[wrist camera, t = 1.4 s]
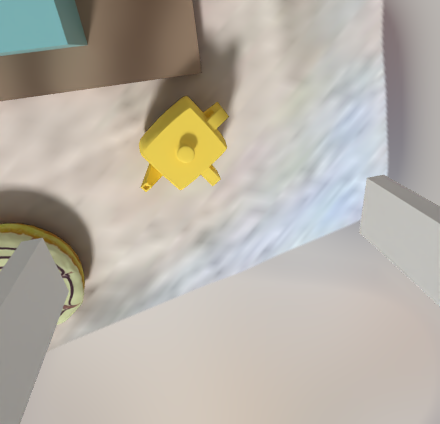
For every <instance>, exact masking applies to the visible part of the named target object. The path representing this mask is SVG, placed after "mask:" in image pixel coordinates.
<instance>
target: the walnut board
mask: <svg viewBox="0 0 440 424" xmlns="http://www.w3.org/2000/svg"><path fill="white" fill-rule="evenodd" d="M75 3H76V6H77V10H78V13H79V17H80V20H81V24H82V27H83V31H84V34H85V37H86V41H87V44H88V45H85V46H77V47H69V48H61V49H53V50H45V51H37V52H29V53H21V54H13V55H5V56H0V101H5V100H12V99H19V98H26V97H34V96H41V95H48V94H55V93H62V92H69V91H76V90H84V89H91V88H98V87H105V86H112V85H119V84H126V83H134V82H141V81H148V80H155V79H162V78H169V77H176V76H183V75H191V74H198V73H202V72H201V64H200V56H199V48H198V41H197V33H196V25H195V18H194V10H193V2H192V0H75Z"/></svg>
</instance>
